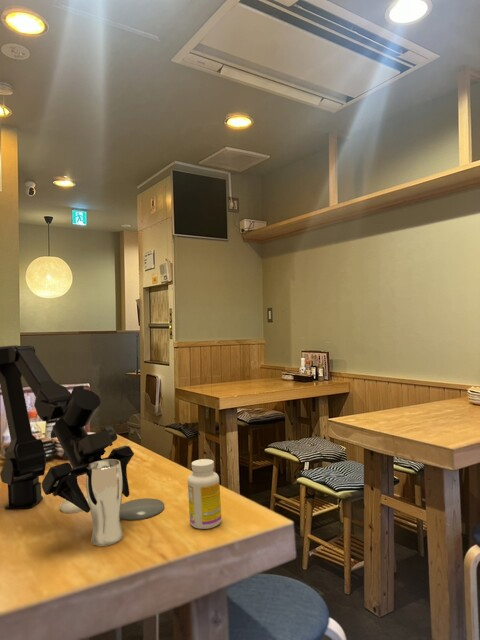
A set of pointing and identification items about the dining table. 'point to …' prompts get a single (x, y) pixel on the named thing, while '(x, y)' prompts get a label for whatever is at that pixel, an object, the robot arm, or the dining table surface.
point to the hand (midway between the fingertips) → (109, 503)
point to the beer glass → (105, 500)
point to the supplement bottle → (204, 495)
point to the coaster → (141, 509)
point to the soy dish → (70, 507)
